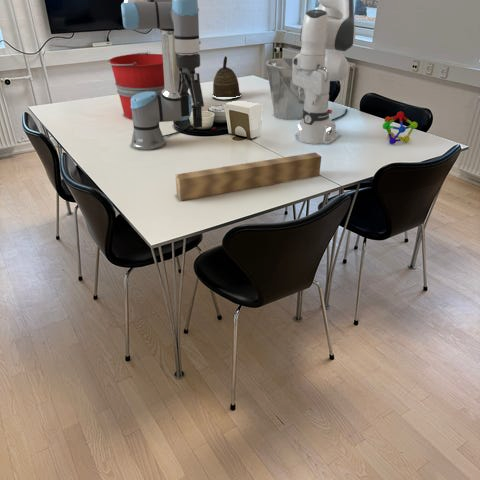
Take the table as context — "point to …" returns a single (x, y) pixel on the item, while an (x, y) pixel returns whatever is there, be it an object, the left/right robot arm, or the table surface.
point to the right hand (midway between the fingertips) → (308, 102)
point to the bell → (225, 82)
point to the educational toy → (398, 128)
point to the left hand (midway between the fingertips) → (191, 121)
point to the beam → (247, 175)
